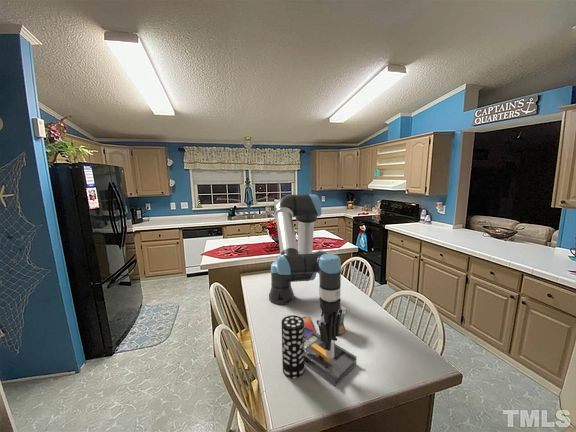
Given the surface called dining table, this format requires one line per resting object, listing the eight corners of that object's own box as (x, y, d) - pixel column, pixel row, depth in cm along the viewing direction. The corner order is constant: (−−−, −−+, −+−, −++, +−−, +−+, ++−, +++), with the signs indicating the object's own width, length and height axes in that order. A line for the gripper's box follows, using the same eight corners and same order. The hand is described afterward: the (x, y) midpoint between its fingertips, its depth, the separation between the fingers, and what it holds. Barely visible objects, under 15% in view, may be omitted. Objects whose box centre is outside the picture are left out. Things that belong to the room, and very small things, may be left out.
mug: (348, 335, 111) (349, 314, 109) (328, 336, 110) (328, 315, 108) (341, 320, 122) (341, 301, 121) (323, 321, 122) (323, 301, 120)
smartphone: (302, 339, 109) (302, 337, 109) (295, 319, 124) (295, 318, 124) (317, 337, 110) (317, 335, 110) (309, 318, 125) (309, 316, 125)
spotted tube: (281, 362, 96) (280, 316, 92) (302, 360, 96) (302, 314, 93) (283, 379, 88) (282, 329, 84) (305, 377, 88) (305, 328, 85)
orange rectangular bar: (310, 348, 96) (311, 345, 96) (314, 345, 98) (314, 342, 98) (329, 362, 90) (329, 358, 90) (332, 358, 92) (332, 355, 91)
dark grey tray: (291, 353, 100) (291, 345, 99) (313, 337, 110) (313, 329, 109) (335, 386, 84) (335, 376, 84) (356, 364, 94) (356, 355, 93)
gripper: (327, 307, 80) (327, 371, 84) (348, 294, 89) (348, 352, 92) (310, 300, 86) (311, 360, 89) (332, 288, 94) (332, 343, 98)
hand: (330, 355), depth 91 cm, fingers closed
